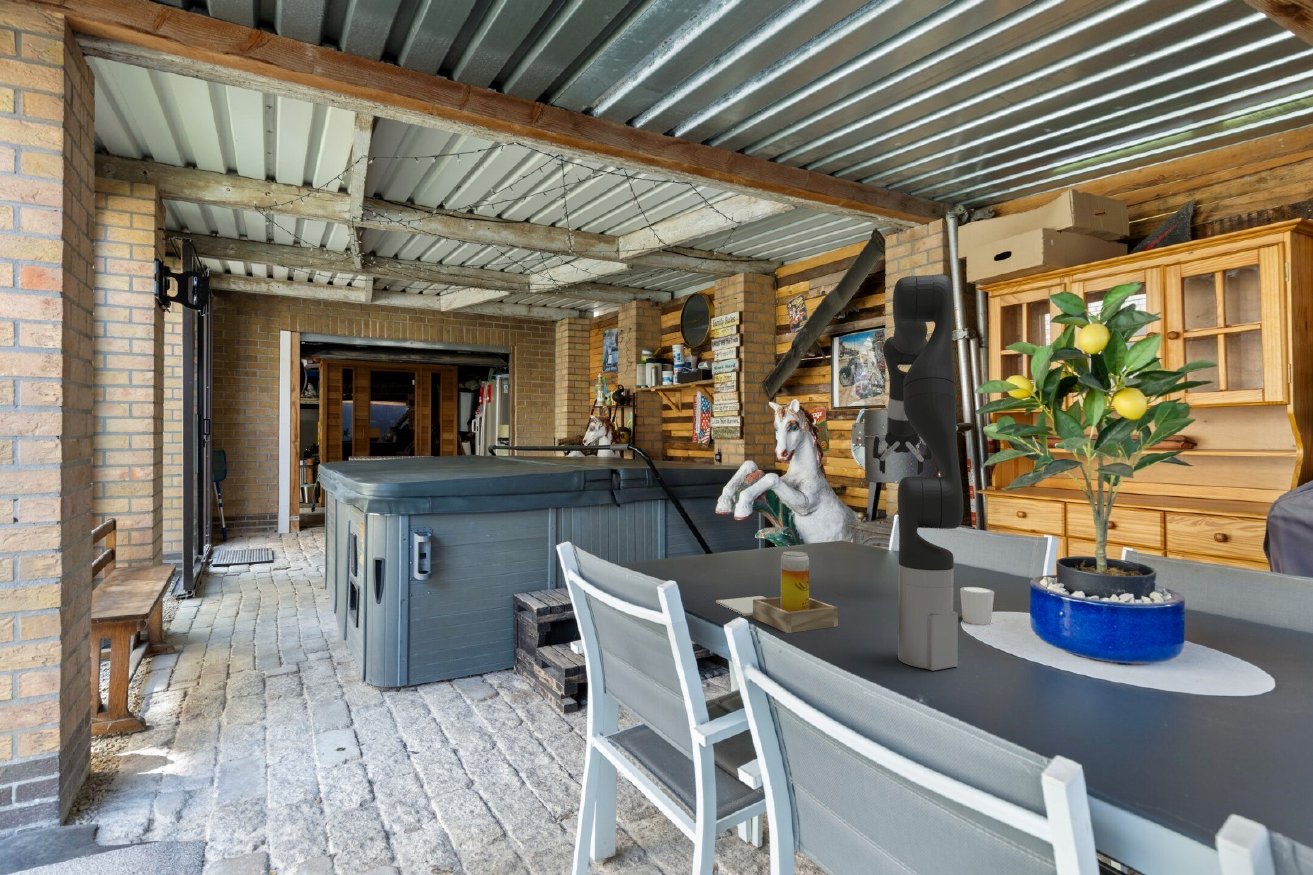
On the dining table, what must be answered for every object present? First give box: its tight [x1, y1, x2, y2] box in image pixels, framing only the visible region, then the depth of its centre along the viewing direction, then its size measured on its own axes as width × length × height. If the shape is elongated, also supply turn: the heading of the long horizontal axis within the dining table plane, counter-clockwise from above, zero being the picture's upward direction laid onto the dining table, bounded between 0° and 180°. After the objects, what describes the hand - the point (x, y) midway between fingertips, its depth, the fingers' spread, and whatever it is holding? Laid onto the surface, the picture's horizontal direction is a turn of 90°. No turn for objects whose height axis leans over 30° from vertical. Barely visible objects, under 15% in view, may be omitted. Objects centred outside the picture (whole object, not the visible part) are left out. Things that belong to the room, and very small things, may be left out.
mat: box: [715, 595, 767, 617], centre depth 161 cm, size 13×13×1 cm
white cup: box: [959, 586, 995, 626], centre depth 150 cm, size 7×7×7 cm
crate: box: [752, 596, 839, 634], centre depth 147 cm, size 13×13×4 cm
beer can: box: [779, 550, 810, 612], centre depth 147 cm, size 6×6×15 cm
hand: (900, 473), depth 176 cm, fingers open, 8 cm apart
